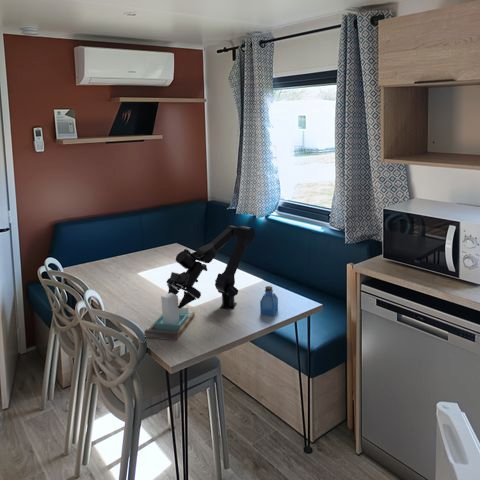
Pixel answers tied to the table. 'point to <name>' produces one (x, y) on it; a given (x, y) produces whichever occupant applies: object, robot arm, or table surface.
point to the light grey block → (170, 308)
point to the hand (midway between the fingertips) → (172, 305)
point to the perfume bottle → (269, 302)
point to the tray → (173, 327)
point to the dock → (168, 334)
